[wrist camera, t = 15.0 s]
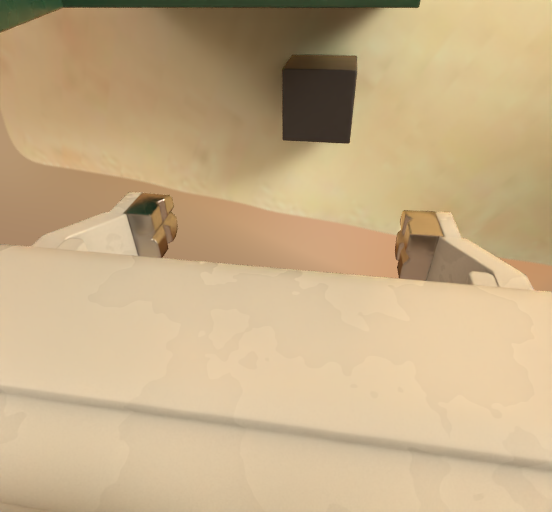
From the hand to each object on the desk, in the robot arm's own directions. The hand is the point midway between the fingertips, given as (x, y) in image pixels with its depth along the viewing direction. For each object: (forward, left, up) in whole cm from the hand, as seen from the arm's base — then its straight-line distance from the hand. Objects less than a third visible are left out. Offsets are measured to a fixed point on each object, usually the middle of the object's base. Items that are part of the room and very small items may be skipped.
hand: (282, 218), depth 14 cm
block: (0, 0, -18) cm, 18 cm away
